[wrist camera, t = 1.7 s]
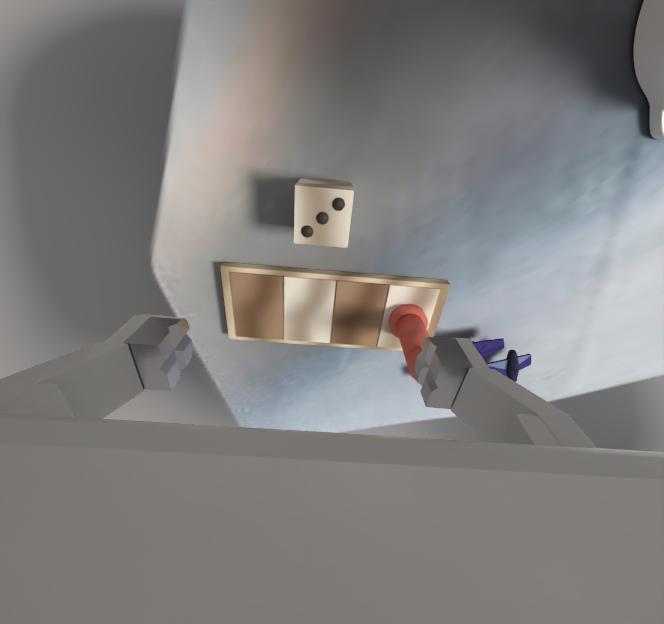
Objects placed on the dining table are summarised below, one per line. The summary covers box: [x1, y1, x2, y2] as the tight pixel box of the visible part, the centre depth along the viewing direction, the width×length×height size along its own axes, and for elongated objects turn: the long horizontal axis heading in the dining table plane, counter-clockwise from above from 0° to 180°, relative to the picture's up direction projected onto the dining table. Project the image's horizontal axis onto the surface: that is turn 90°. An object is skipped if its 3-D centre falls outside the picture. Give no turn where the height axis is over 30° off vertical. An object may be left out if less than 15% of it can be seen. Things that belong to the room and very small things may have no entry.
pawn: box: [389, 304, 430, 380], centre depth 31 cm, size 4×4×10 cm
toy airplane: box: [472, 339, 531, 382], centre depth 40 cm, size 13×14×4 cm
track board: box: [220, 262, 451, 351], centre depth 36 cm, size 26×10×1 cm, turn 85°
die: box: [294, 178, 354, 248], centre depth 28 cm, size 5×5×5 cm
